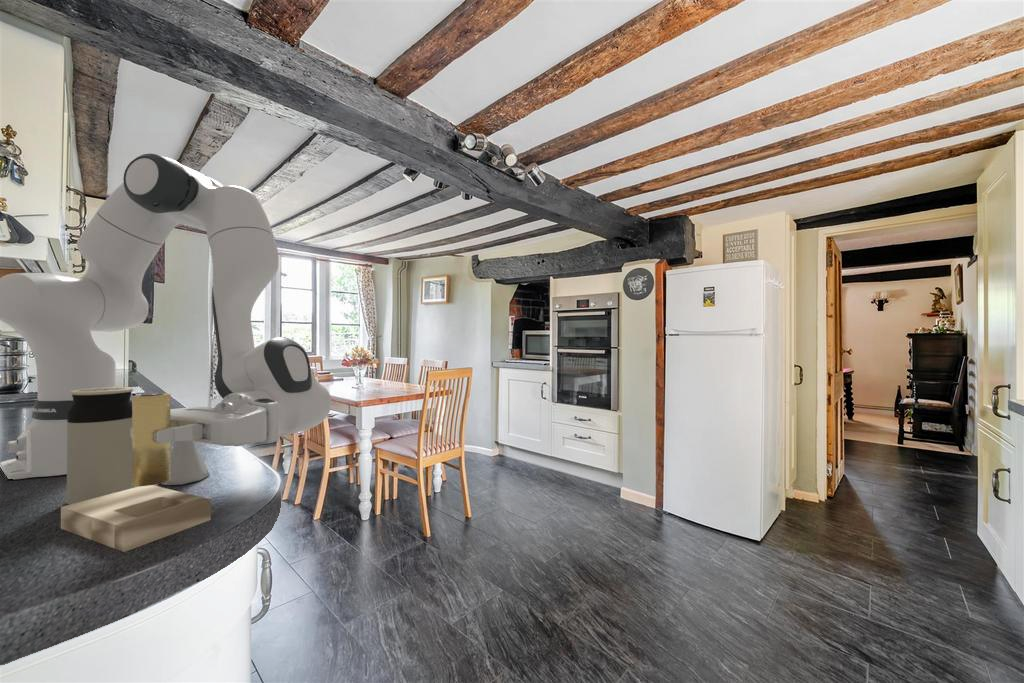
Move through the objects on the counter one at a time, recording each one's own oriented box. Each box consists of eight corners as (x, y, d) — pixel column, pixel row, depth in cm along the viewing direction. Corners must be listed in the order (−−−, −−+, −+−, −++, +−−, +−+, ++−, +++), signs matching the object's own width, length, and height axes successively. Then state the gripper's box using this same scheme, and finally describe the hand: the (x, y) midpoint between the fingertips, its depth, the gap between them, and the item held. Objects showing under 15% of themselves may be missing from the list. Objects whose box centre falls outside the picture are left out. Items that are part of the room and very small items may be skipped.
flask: (181, 488, 73) (181, 431, 73) (148, 485, 74) (149, 429, 74) (218, 475, 80) (218, 424, 80) (187, 472, 81) (188, 422, 81)
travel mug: (137, 497, 68) (138, 389, 68) (66, 511, 62) (67, 393, 62) (131, 485, 74) (132, 385, 74) (66, 498, 68) (67, 389, 68)
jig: (60, 528, 57) (60, 506, 57) (148, 502, 66) (148, 484, 66) (124, 552, 50) (124, 527, 50) (210, 519, 60) (210, 499, 60)
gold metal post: (125, 484, 56) (125, 395, 56) (160, 475, 60) (160, 392, 60) (142, 487, 54) (142, 396, 54) (176, 478, 58) (176, 393, 58)
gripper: (205, 396, 73) (103, 407, 60) (286, 402, 65) (188, 417, 52) (205, 431, 73) (103, 450, 60) (286, 442, 65) (188, 466, 52)
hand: (144, 435), depth 56 cm, fingers closed on gold metal post, 4 cm apart
